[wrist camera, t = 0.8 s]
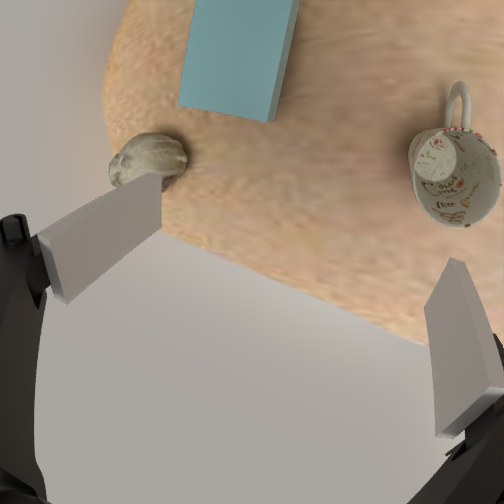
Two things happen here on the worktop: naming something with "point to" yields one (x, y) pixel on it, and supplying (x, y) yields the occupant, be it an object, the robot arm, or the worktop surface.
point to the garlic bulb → (148, 160)
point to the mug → (455, 169)
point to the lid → (238, 56)
